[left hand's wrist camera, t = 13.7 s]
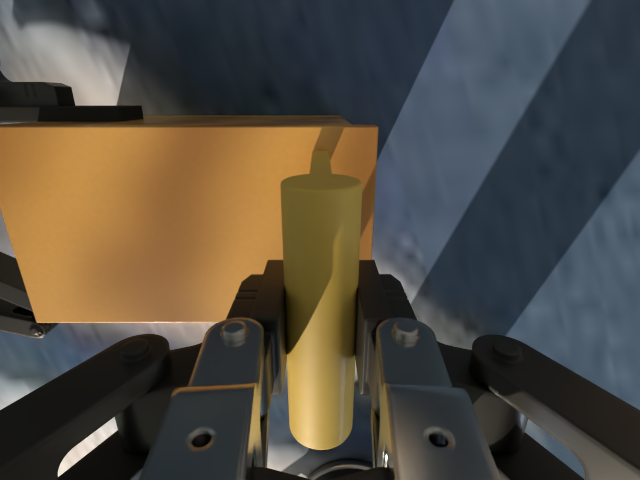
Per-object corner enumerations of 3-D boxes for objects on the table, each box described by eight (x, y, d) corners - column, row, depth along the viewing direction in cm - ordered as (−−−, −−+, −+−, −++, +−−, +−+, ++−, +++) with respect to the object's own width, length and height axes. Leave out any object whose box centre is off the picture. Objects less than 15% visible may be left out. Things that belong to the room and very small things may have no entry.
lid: (374, 124, 16) (436, 151, 8) (365, 310, 20) (400, 470, 11) (-4, 124, 16) (-358, 151, 8) (52, 310, 20) (-153, 472, 11)
